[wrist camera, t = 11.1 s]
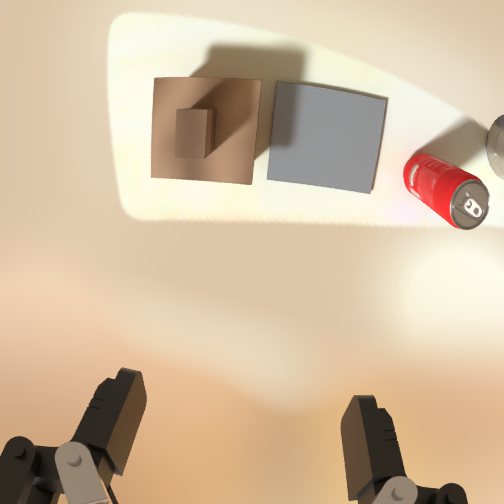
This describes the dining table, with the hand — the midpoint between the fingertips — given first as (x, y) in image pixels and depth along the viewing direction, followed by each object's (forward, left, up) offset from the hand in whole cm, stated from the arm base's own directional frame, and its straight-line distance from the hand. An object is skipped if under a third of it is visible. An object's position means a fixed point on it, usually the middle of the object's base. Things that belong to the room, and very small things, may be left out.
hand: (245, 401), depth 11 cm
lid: (+6, -7, -23) cm, 25 cm away
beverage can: (-18, -5, -28) cm, 34 cm away
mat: (-6, -7, -28) cm, 30 cm away
